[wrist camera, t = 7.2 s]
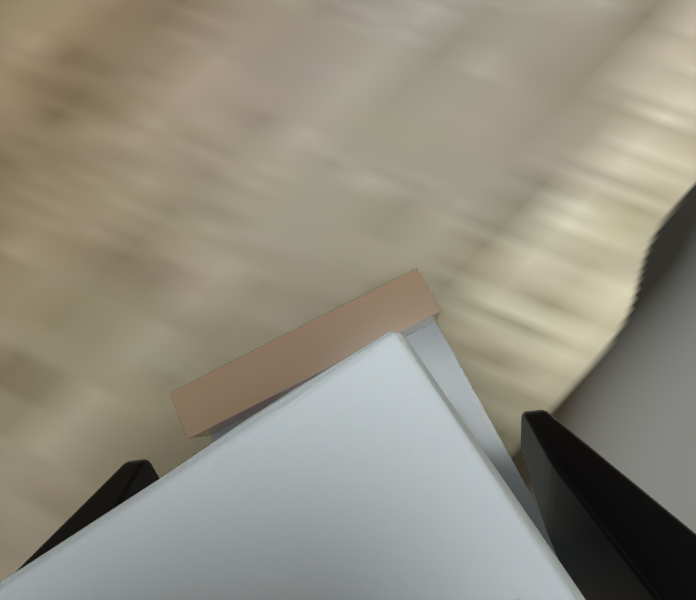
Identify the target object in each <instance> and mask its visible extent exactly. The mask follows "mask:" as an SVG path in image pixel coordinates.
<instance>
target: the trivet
mask: <svg viewBox="0 0 696 600" xmlns="http://www.w3.org/2000/svg"><path fill="white" fill-rule="evenodd" d="M439 314H440V309H439V307H438V305H437V303H436V302H435V300H434V298H433V296H432V294H431V293H430V291H429V289H428V287H427V285H426V284H425V282H424V280H423V278H422V276H421V275H420V273H419V271H418V269H417V268H416V269H414V270H412V271H410V272H408V273H406V274H404V275H402V276H400V277H398V278H396V279H394V280H392V281H390V282H388V283H386V284H384V285H382V286H380V287H378V288H376V289H374V290H372V291H371V292H369V293H367V294H365V295H363V296H361V297H359V298H357V299H355V300H353V301H351V302H349V303H347V304H345V305H343V306H341V307H339V308H337V309H335V310H333V311H331V312H329V313H327V314H325V315H323V316H321V317H319V318H317V319H315V320H313V321H311V322H309V323H307V324H305V325H303V326H301V327H299V328H297V329H295V330H293V331H291V332H289V333H287V334H285V335H283V336H282V337H280V338H278V339H276V340H274V341H272V342H270V343H268V344H266V345H264V346H262V347H260V348H258V349H256V350H254V351H252V352H250V353H248V354H246V355H244V356H242V357H240V358H238V359H236V360H234V361H232V362H230V363H228V364H226V365H224V366H222V367H220V368H218V369H216V370H214V371H212V372H210V373H208V374H206V375H204V376H202V377H200V378H198V379H196V380H194V381H192V382H191V383H189V384H187V385H185V386H183V387H181V388H179V389H177V390H175V391H173V392H171V393H170V395H171V398H172V400H173V403H174V405H175V408H176V411H177V413H178V416H179V418H180V421H181V423H182V426H183V429H184V431H185V434H186V436H187V439H191V438H197V437H203V436H209V435H211V436H212V438H213V441H214V442H215V441H216V440H217V439H219V438H220V437H222V436H223V435H225V434H226V433H228V432H229V431H230V430H232V429H233V428H235V427H236V426H238V425H239V424H241V423H242V422H244V421H245V420H247V419H248V418H250V417H251V416H253V415H255V414H256V413H258V412H259V411H261V410H262V409H264V408H266V407H267V406H269V405H270V404H272V403H273V402H275V401H277V400H278V399H280V398H281V397H283V396H284V395H286V394H288V393H289V392H291V391H292V390H294V389H295V388H297V387H299V386H300V385H302V384H304V383H305V382H307V381H309V380H310V379H312V378H314V377H315V376H317V375H319V374H320V373H322V372H324V371H325V370H327V369H329V368H330V367H332V366H334V365H335V364H337V363H339V362H340V361H342V360H344V359H345V358H347V357H349V356H350V355H352V354H354V353H355V352H357V351H359V350H360V349H362V348H364V347H365V346H367V345H369V344H370V343H372V342H373V341H375V340H377V339H378V338H380V337H381V336H383V335H385V334H386V333H388V332H391V331H395V332H399V333H402V334H403V335H404V336H405V337H406V339H407V340H408V341H409V343H410V344H411V346H412V347H413V349H414V350H415V351H416V353H417V354H418V356H419V357H420V359H421V360H422V362H423V363H424V365H425V366H426V367H427V369H428V370H429V372H430V373H431V375H432V376H433V378H434V379H435V381H436V382H437V383H438V385H439V386H440V388H441V389H442V391H443V392H444V394H445V395H446V397H447V398H448V399H449V401H450V402H451V404H452V405H453V407H454V408H455V410H456V411H457V413H458V414H459V415H460V417H461V418H462V420H463V421H464V423H465V424H466V426H467V427H468V429H469V430H470V431H471V433H472V434H473V436H474V437H475V439H476V440H477V442H478V443H479V445H480V446H481V447H482V449H483V450H484V452H485V453H486V455H487V456H488V458H489V459H490V461H491V462H492V464H493V465H494V466H495V468H496V469H497V471H498V472H499V474H500V475H501V477H502V478H503V480H504V481H505V482H506V484H507V485H508V487H509V488H510V490H511V491H512V493H513V494H514V496H515V497H516V499H517V500H518V501H519V503H520V504H521V506H522V507H523V509H524V510H525V512H526V513H527V515H528V516H529V518H530V519H531V520H532V522H533V523H534V525H535V526H536V528H537V529H538V531H539V532H540V534H541V535H542V537H543V538H544V539H545V541H546V542H547V544H548V545H549V547H550V548H551V550H552V551H553V553H554V554H555V555H556V553H555V551H554V548H553V546H552V543H551V541H550V539H549V536H548V533H547V531H546V528H545V525H544V522H543V519H542V516H541V513H540V510H539V509H538V507H537V505H536V503H535V501H534V499H533V497H532V496H531V494H530V492H529V490H528V488H527V486H526V485H525V483H524V481H523V479H522V477H521V475H520V474H519V472H518V470H517V468H516V466H515V465H514V463H513V461H512V459H511V457H510V455H509V454H508V452H507V450H506V448H505V446H504V444H503V443H502V441H501V439H500V437H499V435H498V434H497V432H496V430H495V428H494V426H493V424H492V423H491V421H490V419H489V417H488V415H487V413H486V412H485V410H484V408H483V406H482V404H481V403H480V401H479V399H478V397H477V395H476V393H475V392H474V390H473V388H472V386H471V384H470V382H469V381H468V379H467V377H466V375H465V373H464V372H463V370H462V368H461V366H460V364H459V362H458V361H457V359H456V357H455V355H454V353H453V351H452V350H451V348H450V346H449V344H448V342H447V341H446V339H445V337H444V335H443V333H442V331H441V330H440V328H439V326H438V324H437V322H436V320H437V318H438V316H439ZM556 557H557V555H556Z"/></svg>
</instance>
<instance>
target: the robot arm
mask: <svg viewBox="0 0 696 600" xmlns="http://www.w3.org/2000/svg"><path fill="white" fill-rule="evenodd" d="M521 448H522V452H523V456H524V459H525V462H526V465H527V469H528V472H529V475H530V479H531V482H532V485H533V489H534V493H535V496H536V499H537V503H538V506H539V509H540V513H541V516H542V519H543V522H544V525H545V528H546V531H547V533H548V536H549V539H550V541H551V543H552V546H553V548H554V551H555V553H556V555H557V558H558V560H559V561H560V563H561V564H562V566H563V567H564V569H565V570H566V572H567V573H568V574H569V576H570V577H571V579H572V580H573V582H574V583H575V585H576V586H577V588H578V589H579V591H580V592H581V593H582V595H583V596H584V598H585V599H586V600H696V534H695V533H694V532H693V531H692V530H690V529H689V528H688V527H687V526H685V525H684V524H683V523H682V522H681V521H679V520H678V519H677V518H676V517H675V516H673V515H672V514H671V513H670V512H668V511H667V510H666V509H665V508H664V507H662V506H661V505H660V504H659V503H657V502H656V501H655V500H654V499H653V498H651V497H650V496H649V495H648V494H647V493H645V492H644V491H643V490H642V489H640V488H639V487H638V486H637V485H636V484H634V483H633V482H632V481H631V480H630V479H628V478H627V477H626V476H625V475H623V474H622V473H621V472H620V471H619V470H617V469H616V468H615V467H614V466H613V465H611V464H610V463H609V462H608V461H606V460H605V459H604V458H603V457H602V456H600V455H599V454H598V453H597V452H596V451H594V450H593V449H592V448H591V447H589V446H588V445H587V444H586V443H584V442H583V441H582V440H581V439H580V438H579V437H577V436H576V435H575V434H574V433H572V432H571V431H570V430H569V429H568V428H566V427H565V426H564V425H563V424H561V423H560V422H559V421H558V420H556V419H555V418H554V417H553V416H552V415H551V414H549V413H548V412H547V411H545V410H535V411H527V412H524V413H523V415H522V421H521ZM158 479H159V477H158V475H157V473H156V471H155V470H154V468H153V466H152V464H151V463H150V462H149V461H148V460H145V459H143V460H135V461H129V462H127V463H125V464H124V465H123V466H122V467H121V468H120V469H119V470H118V471H117V472H116V473H115V474H114V475H113V476H112V477H111V478H110V479H109V480H108V481H107V482H106V483H105V484H104V485H103V486H102V487H101V488H100V489H99V490H98V491H97V492H96V493H95V494H94V495H93V496H92V497H91V498H90V499H89V500H88V501H87V502H86V503H85V504H84V505H83V506H82V507H81V508H79V509H78V510H77V511H76V512H75V513H74V514H73V515H72V516H71V517H70V518H69V519H68V520H67V521H66V522H65V523H64V524H63V525H62V526H61V527H60V528H59V529H58V530H57V531H56V532H55V533H54V534H53V535H52V536H51V537H50V538H49V539H48V540H47V541H46V542H45V543H44V544H43V545H42V546H41V547H40V548H39V549H38V550H37V551H36V552H35V553H34V554H33V555H32V556H31V557H30V558H29V559H28V560H27V561H26V562H25V563H24V564H23V565H22V566H21V567H20V568H19V569H18V570H20V569H21V568H23V567H24V566H26V565H27V564H29V563H30V562H32V561H34V560H35V559H37V558H38V557H40V556H41V555H43V554H44V553H46V552H48V551H49V550H51V549H52V548H54V547H55V546H57V545H58V544H60V543H61V542H63V541H65V540H66V539H68V538H69V537H71V536H72V535H74V534H75V533H77V532H78V531H80V530H81V529H83V528H84V527H86V526H88V525H89V524H91V523H92V522H94V521H95V520H97V519H98V518H100V517H101V516H103V515H104V514H106V513H107V512H109V511H111V510H112V509H114V508H115V507H117V506H118V505H120V504H121V503H123V502H124V501H126V500H128V499H129V498H131V497H132V496H134V495H135V494H137V493H138V492H140V491H141V490H143V489H145V488H146V487H148V486H149V485H151V484H152V483H154V482H155V481H157V480H158ZM18 570H17V571H18ZM17 571H16V572H17Z"/></svg>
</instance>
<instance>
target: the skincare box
mask: <svg viewBox="0 0 696 600" xmlns="http://www.w3.org/2000/svg"><path fill="white" fill-rule="evenodd" d="M0 600H586V599H585V598H584V596H583V595H582V593H581V592H580V591H579V589H578V588H577V586H576V585H575V583H574V582H573V580H572V579H571V577H570V576H569V574H568V573H567V572H566V570H565V569H564V567H563V566H562V564H561V563H560V561H559V560H558V558H557V557H556V555H555V554H554V553H553V551H552V550H551V548H550V547H549V545H548V544H547V542H546V541H545V539H544V538H543V537H542V535H541V534H540V532H539V531H538V529H537V528H536V526H535V525H534V523H533V522H532V520H531V519H530V518H529V516H528V515H527V513H526V512H525V510H524V509H523V507H522V506H521V504H520V503H519V501H518V500H517V499H516V497H515V496H514V494H513V493H512V491H511V490H510V488H509V487H508V485H507V484H506V482H505V481H504V480H503V478H502V477H501V475H500V474H499V472H498V471H497V469H496V468H495V466H494V465H493V464H492V462H491V461H490V459H489V458H488V456H487V455H486V453H485V452H484V450H483V449H482V447H481V446H480V445H479V443H478V442H477V440H476V439H475V437H474V436H473V434H472V433H471V431H470V430H469V429H468V427H467V426H466V424H465V423H464V421H463V420H462V418H461V417H460V415H459V414H458V413H457V411H456V410H455V408H454V407H453V405H452V404H451V402H450V401H449V399H448V398H447V397H446V395H445V394H444V392H443V391H442V389H441V388H440V386H439V385H438V383H437V382H436V381H435V379H434V378H433V376H432V375H431V373H430V372H429V370H428V369H427V367H426V366H425V365H424V363H423V362H422V360H421V359H420V357H419V356H418V354H417V353H416V351H415V350H414V349H413V347H412V346H411V344H410V343H409V341H408V340H407V339H406V337H405V336H404V335H403V334H402V333H399V332H395V331H391V332H388V333H386V334H385V335H383V336H381V337H380V338H378V339H377V340H375V341H373V342H372V343H370V344H369V345H367V346H365V347H364V348H362V349H360V350H359V351H357V352H355V353H354V354H352V355H350V356H349V357H347V358H345V359H344V360H342V361H340V362H339V363H337V364H335V365H334V366H332V367H330V368H329V369H327V370H325V371H324V372H322V373H320V374H319V375H317V376H315V377H314V378H312V379H310V380H309V381H307V382H305V383H304V384H302V385H300V386H299V387H297V388H295V389H294V390H292V391H291V392H289V393H288V394H286V395H284V396H283V397H281V398H280V399H278V400H277V401H275V402H273V403H272V404H270V405H269V406H267V407H266V408H264V409H262V410H261V411H259V412H258V413H256V414H255V415H253V416H251V417H250V418H248V419H247V420H245V421H244V422H242V423H241V424H239V425H238V426H236V427H235V428H233V429H232V430H230V431H229V432H228V433H226V434H225V435H223V436H222V437H220V438H219V439H217V440H216V441H215V442H213V443H212V444H210V445H209V446H207V447H206V448H204V449H203V450H202V451H200V452H199V453H197V454H196V455H194V456H193V457H191V458H190V459H188V460H187V461H185V462H184V463H182V464H181V465H179V466H178V467H176V468H175V469H174V470H172V471H171V472H169V473H168V474H166V475H165V476H163V477H162V478H160V479H158V480H157V481H155V482H154V483H152V484H151V485H149V486H148V487H146V488H145V489H143V490H141V491H140V492H138V493H137V494H135V495H134V496H132V497H131V498H129V499H128V500H126V501H124V502H123V503H121V504H120V505H118V506H117V507H115V508H114V509H112V510H111V511H109V512H107V513H106V514H104V515H103V516H101V517H100V518H98V519H97V520H95V521H94V522H92V523H91V524H89V525H88V526H86V527H84V528H83V529H81V530H80V531H78V532H77V533H75V534H74V535H72V536H71V537H69V538H68V539H66V540H65V541H63V542H61V543H60V544H58V545H57V546H55V547H54V548H52V549H51V550H49V551H48V552H46V553H44V554H43V555H41V556H40V557H38V558H37V559H35V560H34V561H32V562H30V563H29V564H27V565H26V566H24V567H23V568H21V569H20V570H18V571H17V572H15V573H14V574H12V575H11V576H9V577H8V578H6V579H5V580H3V581H2V582H0Z"/></svg>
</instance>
